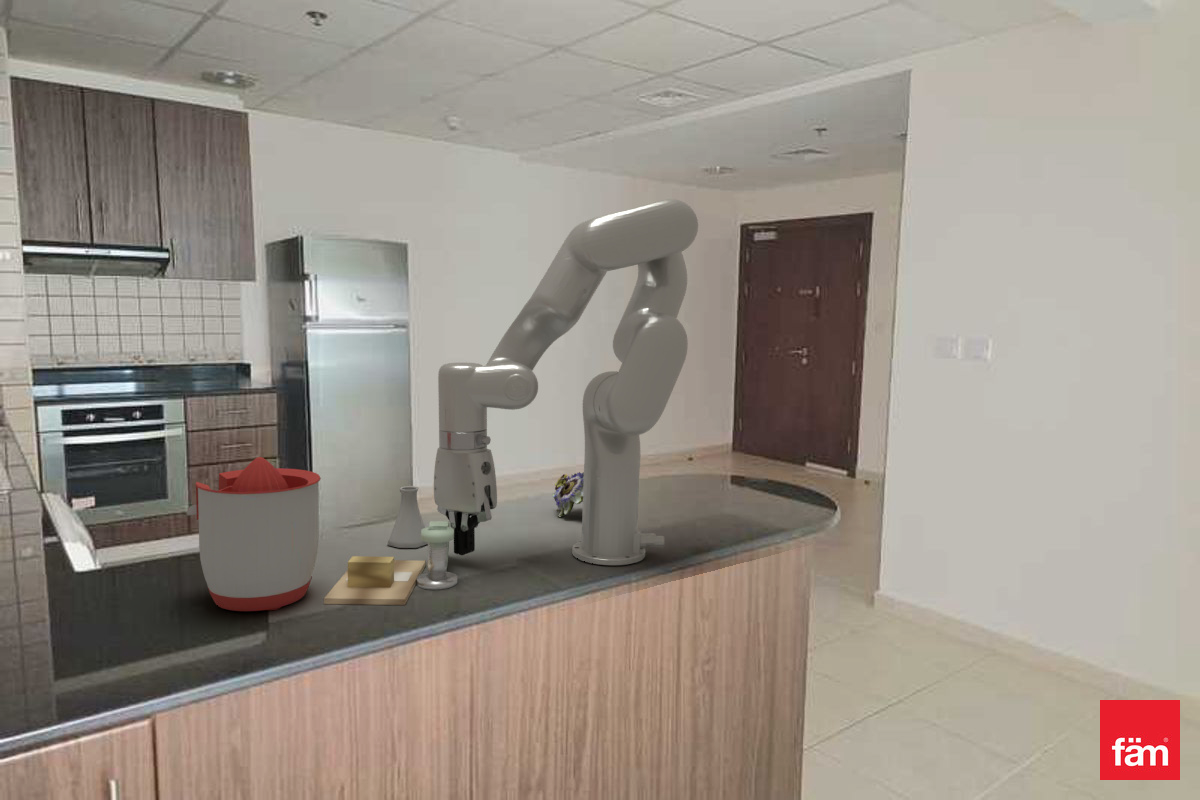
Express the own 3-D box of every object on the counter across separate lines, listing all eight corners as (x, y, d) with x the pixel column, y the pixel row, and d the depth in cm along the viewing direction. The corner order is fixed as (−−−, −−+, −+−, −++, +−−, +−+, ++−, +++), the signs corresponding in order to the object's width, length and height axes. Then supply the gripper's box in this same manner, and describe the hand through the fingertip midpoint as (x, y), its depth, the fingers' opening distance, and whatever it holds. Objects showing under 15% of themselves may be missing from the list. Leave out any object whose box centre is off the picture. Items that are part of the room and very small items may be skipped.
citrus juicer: (223, 576, 113) (221, 444, 111) (337, 581, 113) (337, 449, 111) (159, 616, 98) (155, 464, 96) (292, 623, 97) (291, 470, 95)
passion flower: (561, 543, 155) (538, 490, 159) (604, 526, 161) (580, 476, 165) (582, 524, 146) (557, 469, 150) (627, 507, 152) (601, 455, 156)
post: (459, 576, 117) (460, 534, 116) (454, 590, 111) (455, 546, 110) (420, 575, 117) (420, 534, 116) (413, 589, 111) (413, 545, 110)
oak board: (425, 565, 122) (426, 538, 121) (405, 604, 105) (405, 573, 104) (356, 564, 121) (356, 537, 121) (323, 604, 104) (323, 572, 104)
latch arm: (452, 577, 112) (453, 534, 111) (419, 578, 111) (420, 535, 110) (455, 546, 127) (455, 508, 126) (425, 547, 126) (426, 508, 125)
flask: (418, 551, 129) (419, 493, 128) (379, 547, 130) (380, 490, 129) (436, 539, 136) (437, 485, 135) (399, 536, 138) (399, 482, 136)
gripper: (514, 441, 120) (515, 554, 122) (445, 433, 128) (447, 539, 130) (482, 448, 113) (483, 567, 115) (412, 439, 121) (414, 550, 123)
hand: (464, 552), depth 122 cm, fingers closed
